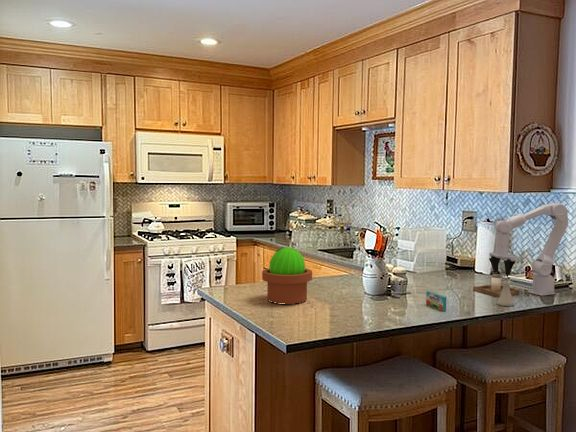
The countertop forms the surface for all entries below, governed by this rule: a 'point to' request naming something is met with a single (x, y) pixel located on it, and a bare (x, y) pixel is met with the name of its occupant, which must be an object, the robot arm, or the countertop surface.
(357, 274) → the countertop surface
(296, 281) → the potted cactus
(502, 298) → the flask
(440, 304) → the teal printed box
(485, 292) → the tray
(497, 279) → the pepper shaker
